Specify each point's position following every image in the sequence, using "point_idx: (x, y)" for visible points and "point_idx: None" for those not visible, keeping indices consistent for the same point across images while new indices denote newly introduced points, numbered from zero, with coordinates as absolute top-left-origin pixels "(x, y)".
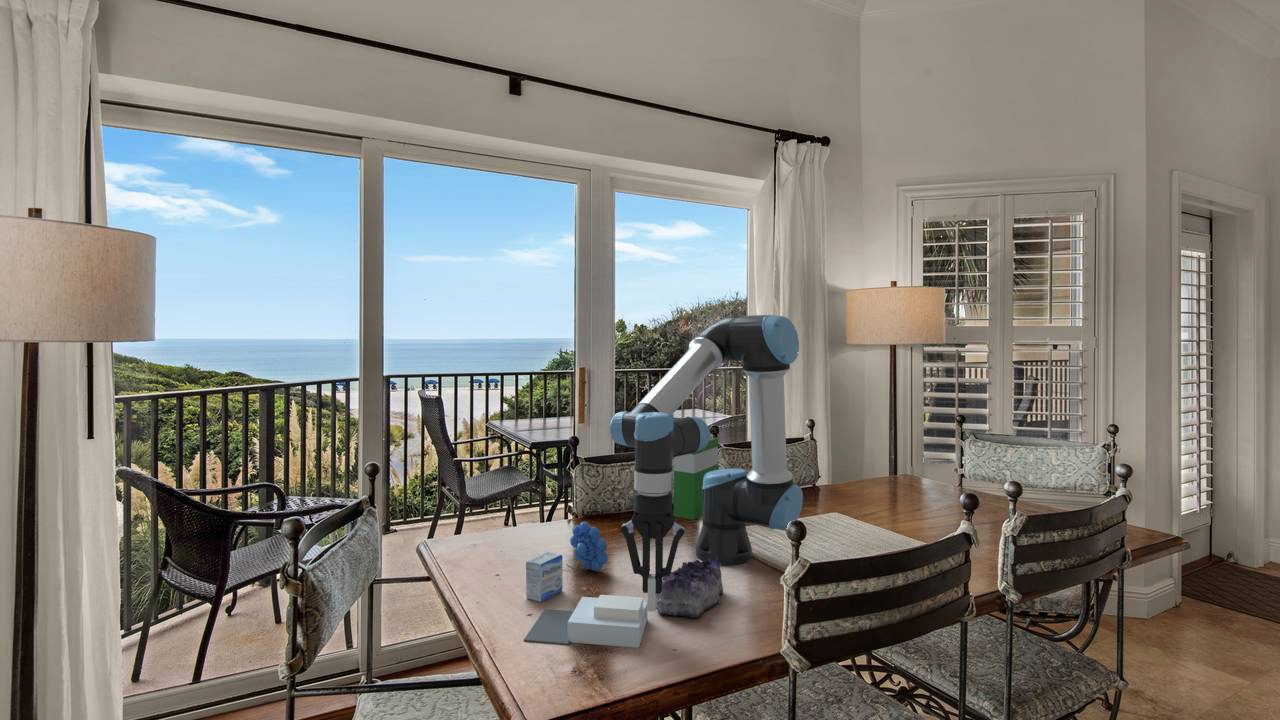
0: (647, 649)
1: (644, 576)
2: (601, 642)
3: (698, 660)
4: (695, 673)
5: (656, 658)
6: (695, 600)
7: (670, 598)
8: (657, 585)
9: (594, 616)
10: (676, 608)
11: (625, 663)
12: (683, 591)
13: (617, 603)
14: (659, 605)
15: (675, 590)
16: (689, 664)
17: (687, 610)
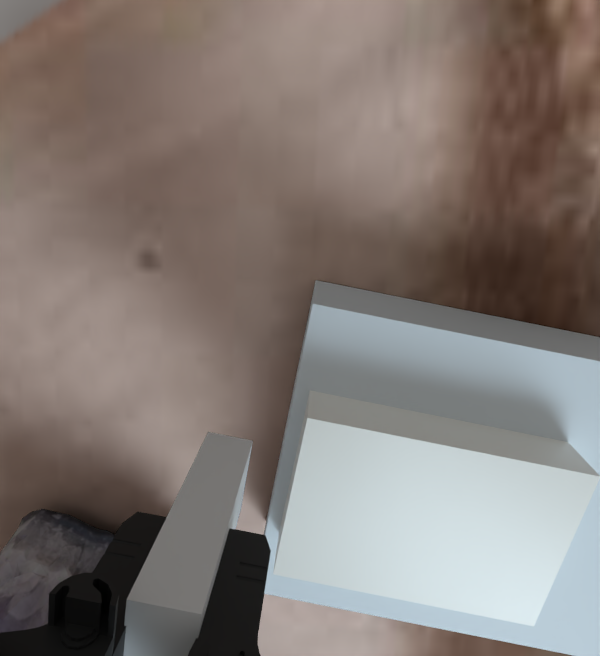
0: (275, 266)
1: (233, 643)
2: (496, 318)
3: (37, 152)
4: (48, 19)
5: (235, 177)
6: (2, 574)
7: None
8: (136, 564)
9: (564, 442)
10: None
11: (389, 130)
12: None
13: (438, 512)
14: None
15: None
16: (79, 113)
17: (73, 544)
